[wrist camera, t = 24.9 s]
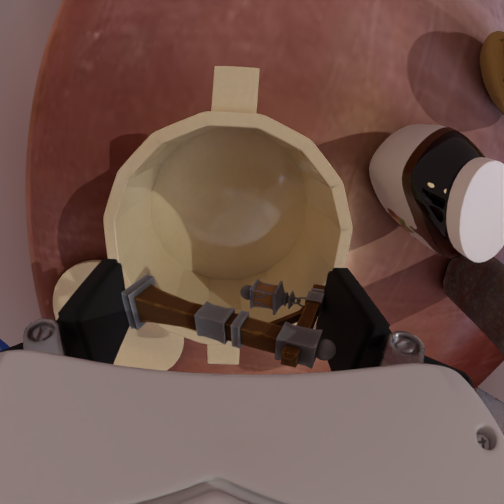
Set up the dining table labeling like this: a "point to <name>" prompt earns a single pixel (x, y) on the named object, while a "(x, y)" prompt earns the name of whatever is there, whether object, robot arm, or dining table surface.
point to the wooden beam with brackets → (238, 319)
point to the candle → (479, 294)
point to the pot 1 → (228, 209)
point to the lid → (136, 341)
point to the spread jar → (441, 190)
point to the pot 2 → (494, 67)
